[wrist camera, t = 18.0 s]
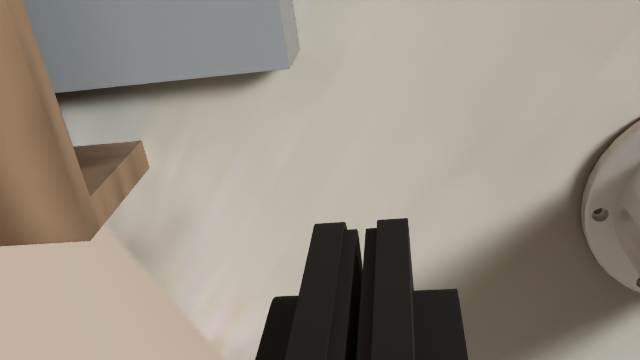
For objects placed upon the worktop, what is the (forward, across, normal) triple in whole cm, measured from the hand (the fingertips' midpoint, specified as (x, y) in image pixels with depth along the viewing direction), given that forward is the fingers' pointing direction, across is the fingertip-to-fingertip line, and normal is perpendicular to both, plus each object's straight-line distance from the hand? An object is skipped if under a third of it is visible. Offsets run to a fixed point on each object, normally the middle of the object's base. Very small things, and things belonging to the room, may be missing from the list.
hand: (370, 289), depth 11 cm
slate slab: (+24, +13, -1) cm, 27 cm away
